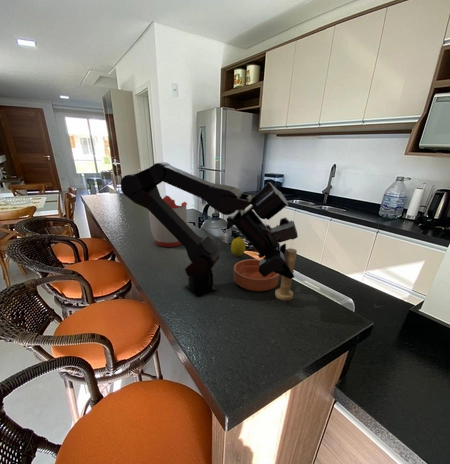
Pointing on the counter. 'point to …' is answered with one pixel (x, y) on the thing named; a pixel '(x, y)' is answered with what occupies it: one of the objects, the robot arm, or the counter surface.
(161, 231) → the citrus juicer
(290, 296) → the wooden pestle
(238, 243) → the lemon
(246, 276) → the bowl
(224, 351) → the counter surface
